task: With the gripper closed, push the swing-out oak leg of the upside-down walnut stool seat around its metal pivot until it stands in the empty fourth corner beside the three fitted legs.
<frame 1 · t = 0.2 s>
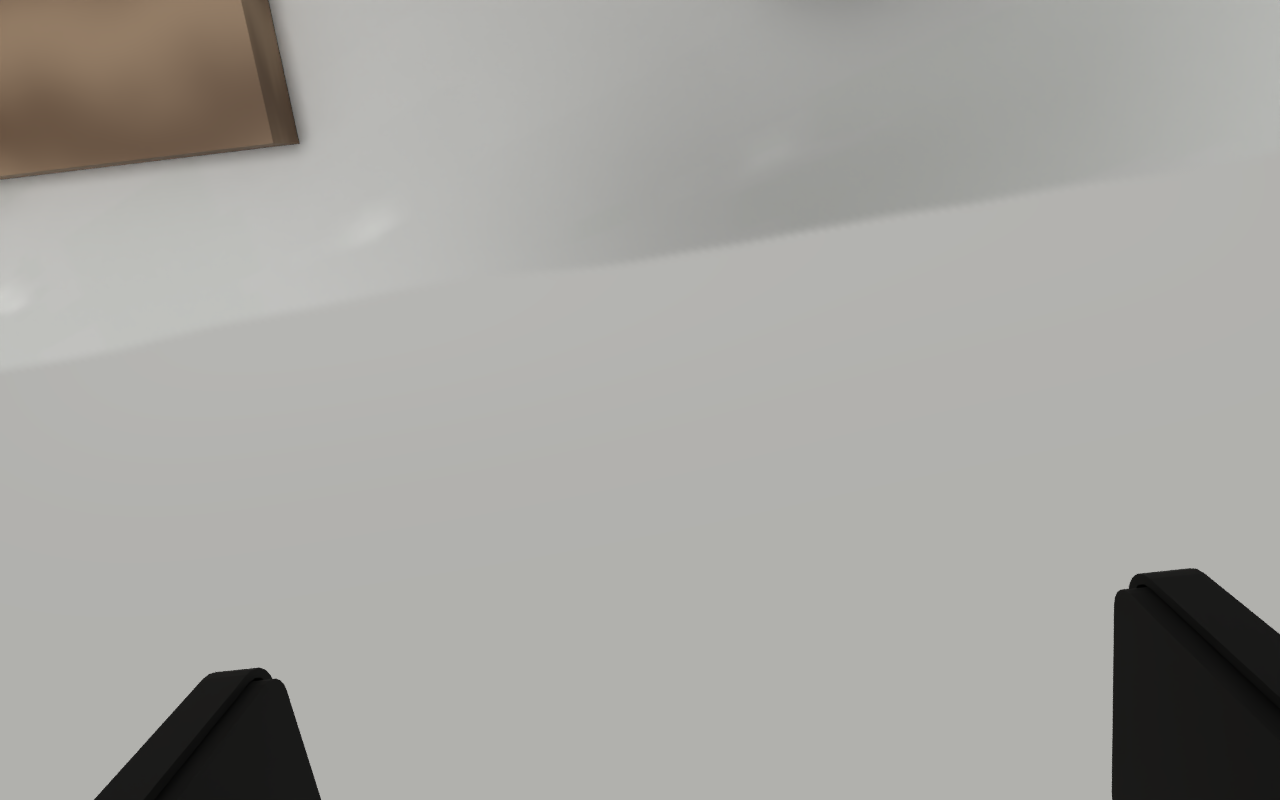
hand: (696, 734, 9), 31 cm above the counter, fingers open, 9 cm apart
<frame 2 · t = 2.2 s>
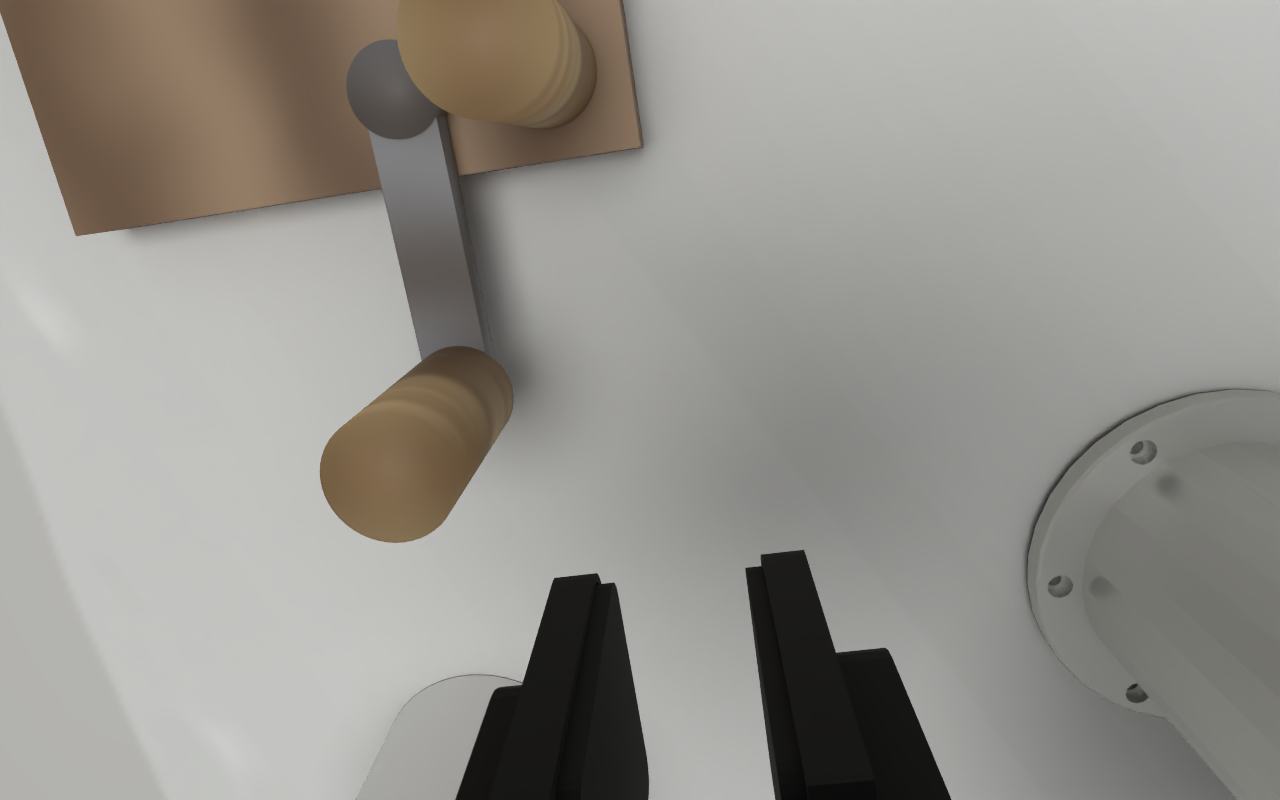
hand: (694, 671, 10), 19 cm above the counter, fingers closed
cup: (487, 756, 34), on the counter
hinged leg: (399, 270, 22), point 7 cm above the counter, hinge at 0.0°
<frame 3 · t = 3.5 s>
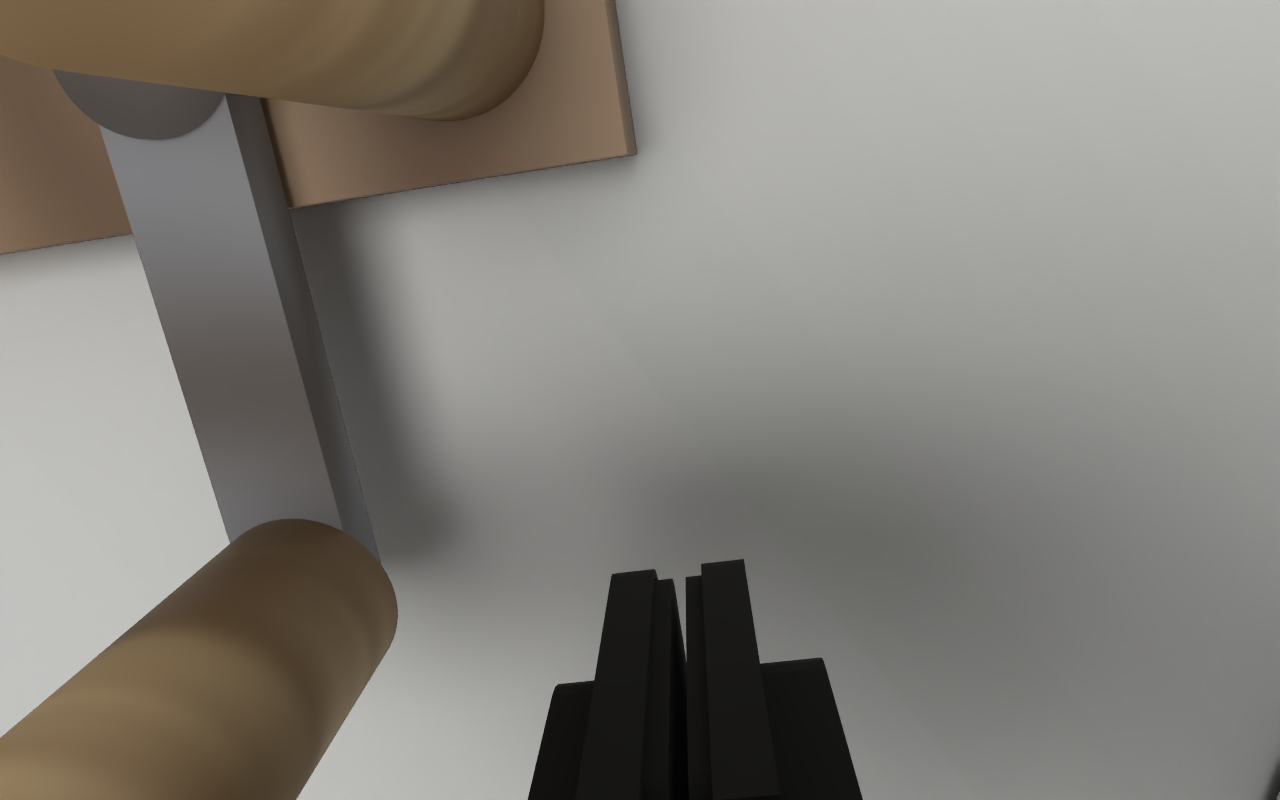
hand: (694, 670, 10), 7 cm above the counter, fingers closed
hinged leg: (110, 415, 10), point 7 cm above the counter, hinge at 0.0°
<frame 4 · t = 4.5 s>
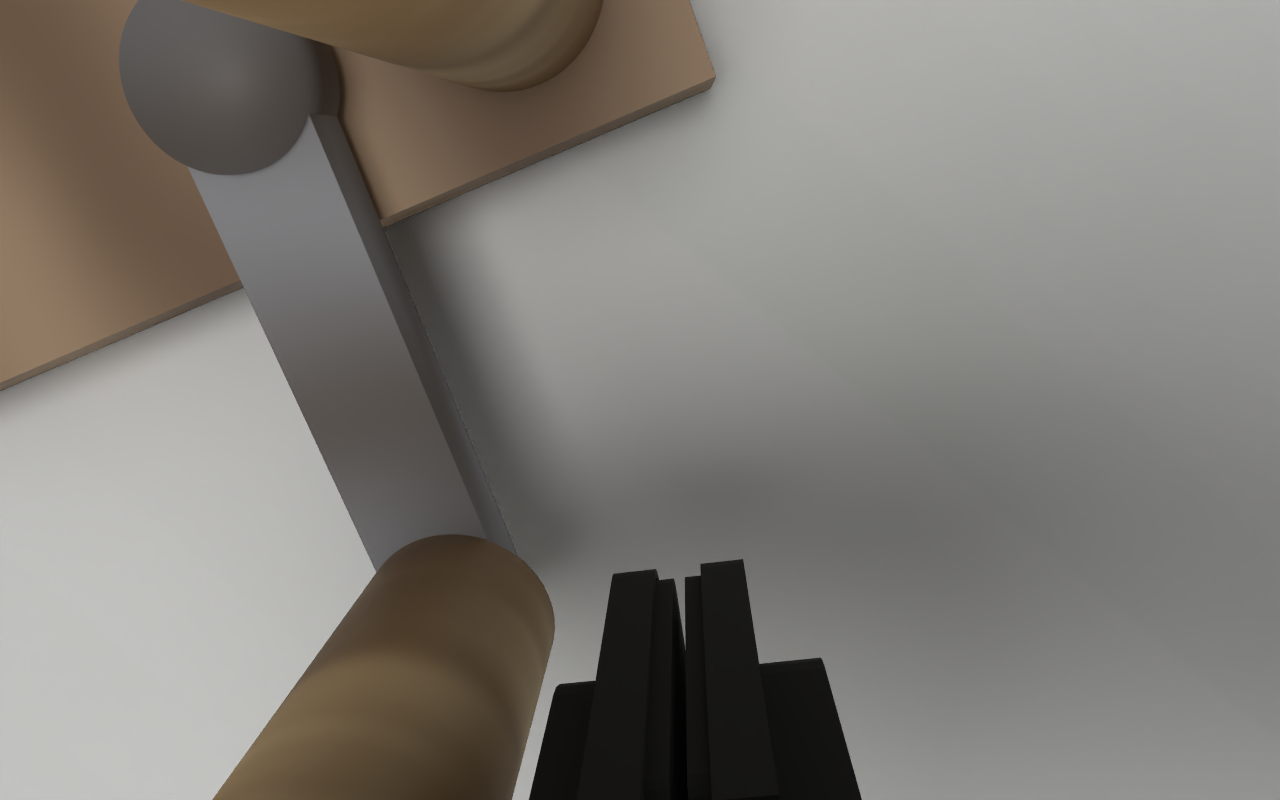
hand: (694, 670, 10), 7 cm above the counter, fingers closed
hinged leg: (264, 448, 10), point 7 cm above the counter, hinge at 3.4°, touching gripper
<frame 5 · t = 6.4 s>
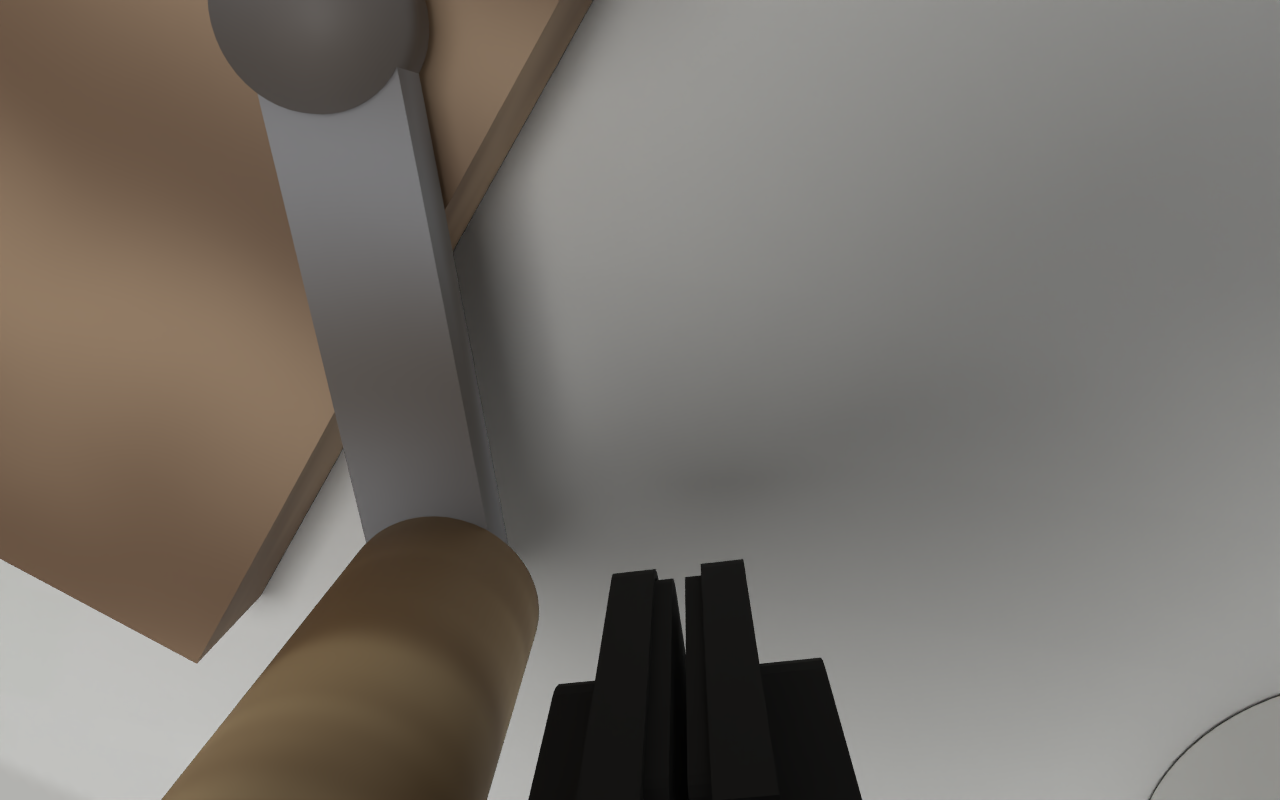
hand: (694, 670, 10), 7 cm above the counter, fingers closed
hinged leg: (301, 405, 10), point 7 cm above the counter, hinge at 50.4°, touching gripper
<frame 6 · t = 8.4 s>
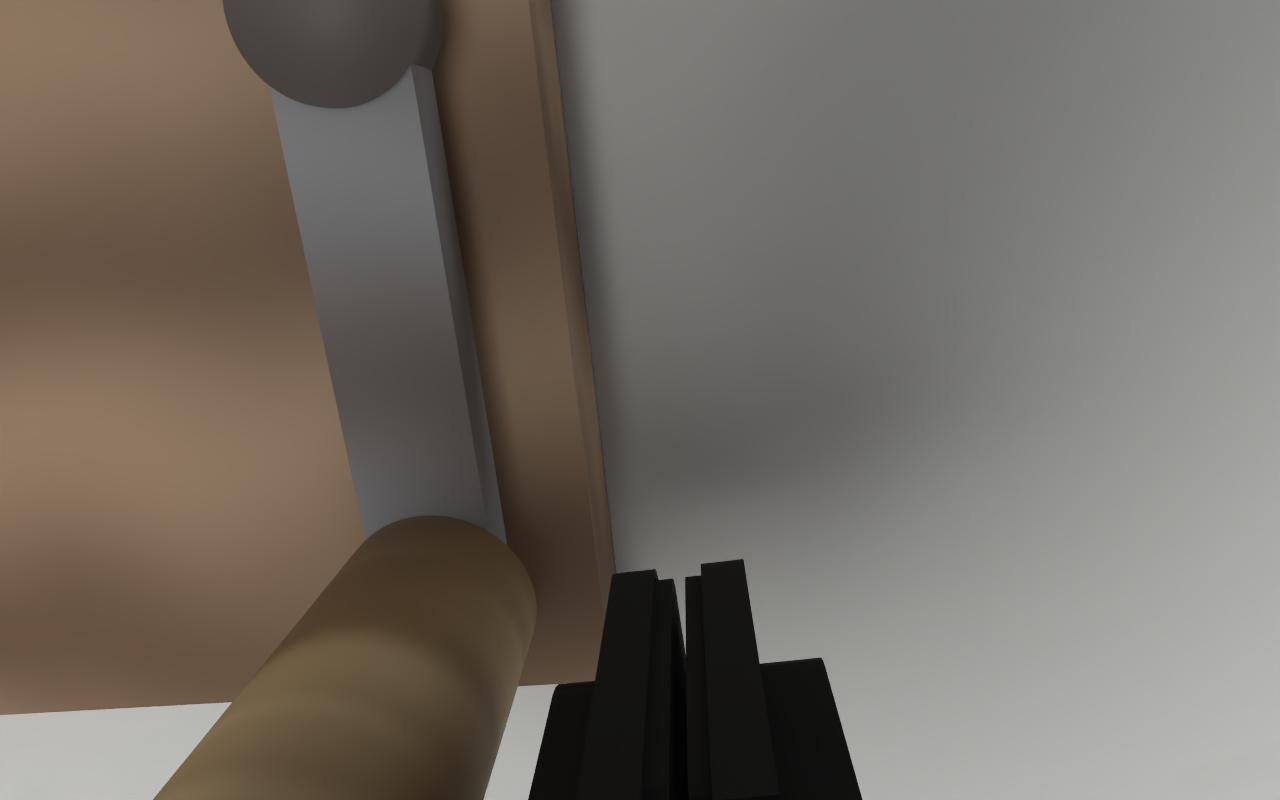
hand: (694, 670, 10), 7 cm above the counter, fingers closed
stool seat: (103, 220, 16), on the counter
hinged leg: (306, 401, 10), point 7 cm above the counter, hinge at 89.7°, touching gripper
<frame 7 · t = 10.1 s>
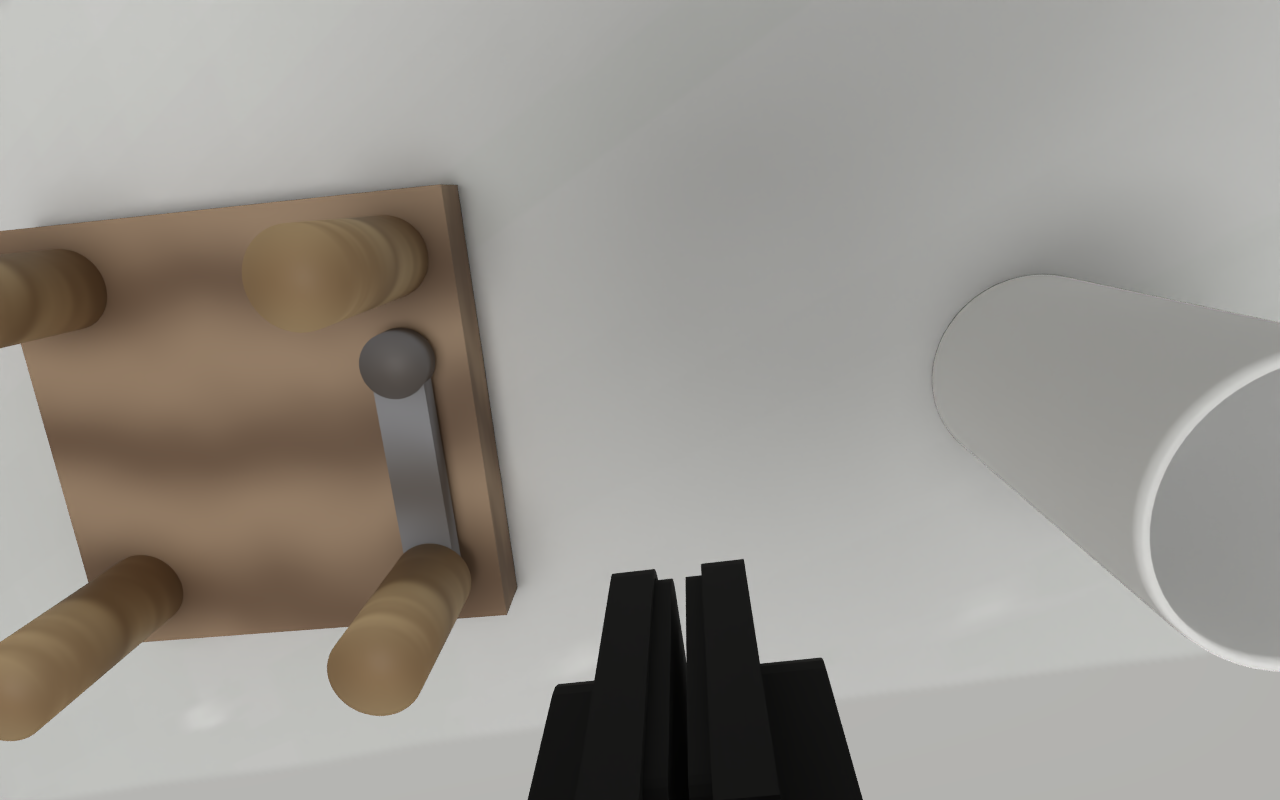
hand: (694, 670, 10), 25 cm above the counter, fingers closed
cup: (1028, 371, 35), on the counter
stool seat: (287, 416, 36), on the counter
hinged leg: (390, 506, 30), point 7 cm above the counter, hinge at 89.8°
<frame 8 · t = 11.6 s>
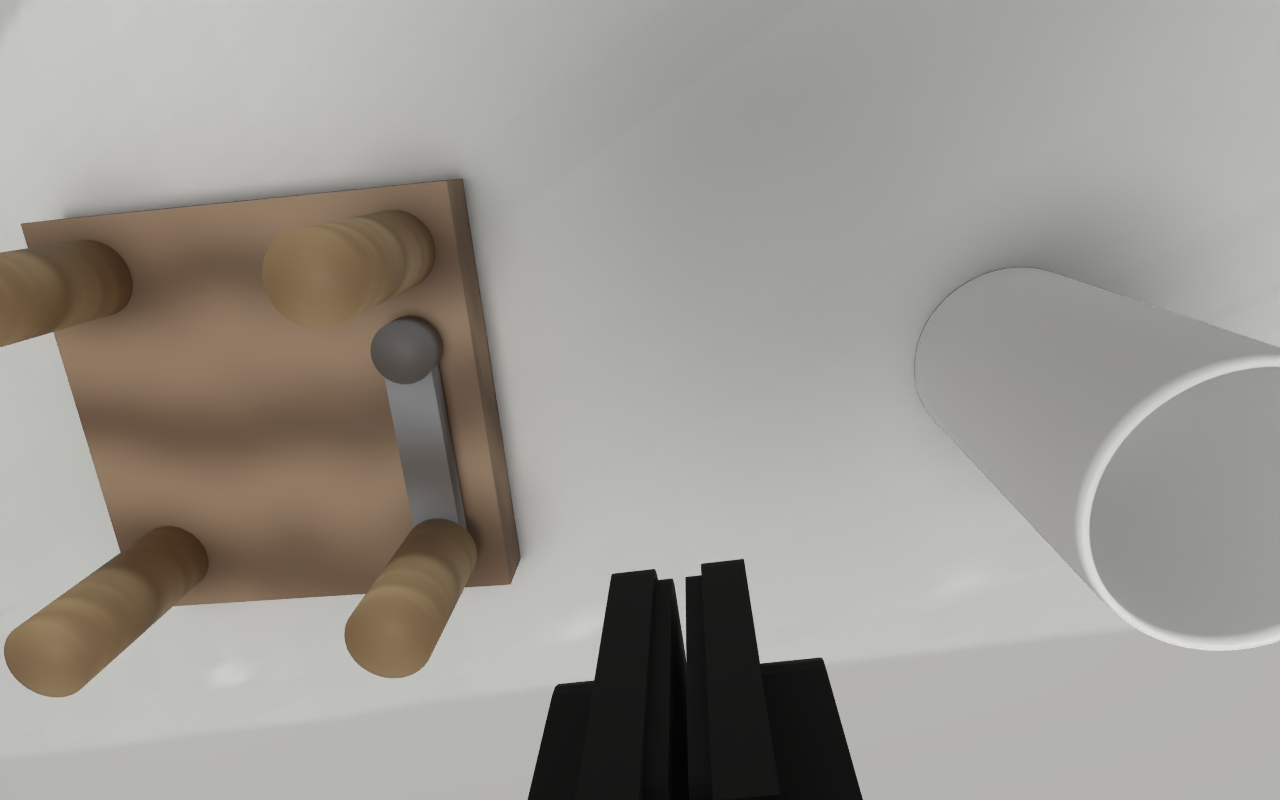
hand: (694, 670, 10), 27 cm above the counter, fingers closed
cup: (1007, 359, 37), on the counter
stool seat: (303, 397, 38), on the counter
hinged leg: (401, 485, 32), point 7 cm above the counter, hinge at 89.8°
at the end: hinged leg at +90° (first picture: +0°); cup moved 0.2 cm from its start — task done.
